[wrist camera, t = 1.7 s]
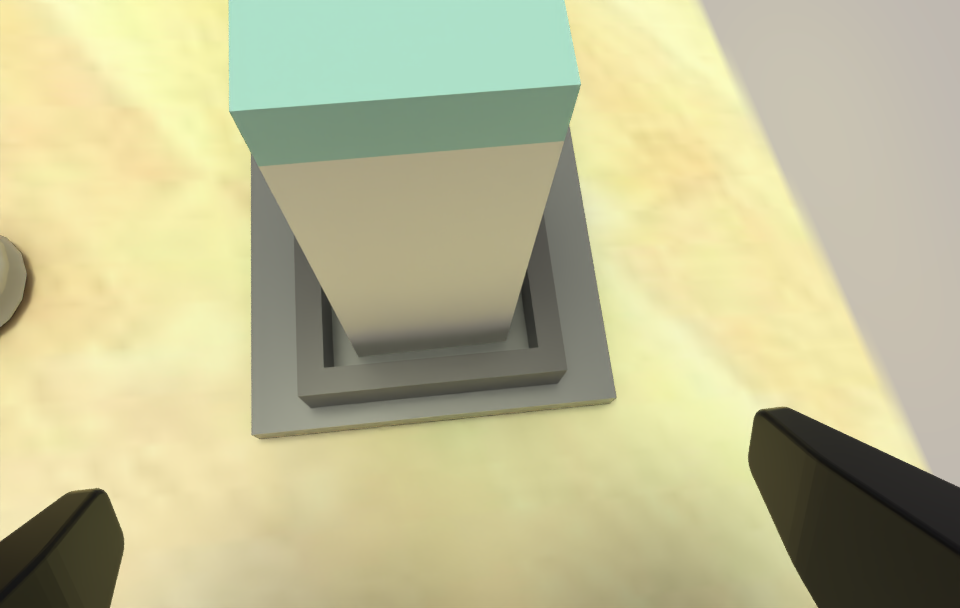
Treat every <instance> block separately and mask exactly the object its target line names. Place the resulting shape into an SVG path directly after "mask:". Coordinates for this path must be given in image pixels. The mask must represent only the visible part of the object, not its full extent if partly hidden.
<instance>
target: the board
mask: <svg viewBox="0 0 960 608" xmlns="http://www.w3.org/2000/svg"><path fill="white" fill-rule="evenodd" d="M251 381H252V435H253V436H255V437H257V438H259V439H264V438H274V437H284V436H294V435H304V434H313V433H323V432H333V431H343V430H353V429H362V428H372V427H382V426H392V425H402V424H411V423H421V422H431V421H441V420H451V419H460V418H470V417H480V416H490V415H499V414H509V413H519V412H529V411H539V410H548V409H558V408H568V407H578V406H588V405H597V404H607V403H611V402H612V401H613V400H614V399H616V392H615V386H614V381H613V375H612V369H611V363H610V358H609V352H608V346H607V340H606V335H605V329H604V323H603V317H602V311H601V306H600V300H599V294H598V288H597V283H596V277H595V271H594V265H593V260H592V254H591V248H590V242H589V237H588V231H587V225H586V219H585V213H584V208H583V202H582V196H581V190H580V185H579V179H578V173H577V167H576V162H575V156H574V150H573V144H572V139H571V133H570V127H568V130H567V134H566V137H565V140H564V144H563V147H562V151H561V154H560V157H559V161H558V164H557V168H556V171H555V174H554V178H553V181H552V185H551V188H550V192H549V195H548V198H547V202H546V205H545V209H544V212H543V215H542V219H541V222H540V226H539V229H538V232H537V236H536V239H535V243H534V246H533V250H532V253H531V256H530V260H529V263H528V267H527V270H526V273H525V277H524V280H523V284H522V287H521V290H520V294H519V297H518V301H517V304H516V308H515V311H514V314H513V318H512V321H511V325H510V328H509V331H508V335H507V338H506V341H503V342H494V343H484V344H475V345H465V346H456V347H447V348H437V349H428V350H418V351H409V352H399V353H390V354H381V355H371V356H362V357H358V355H357V353H356V351H355V349H354V347H353V345H352V344H351V342H350V340H349V338H348V336H347V334H346V332H345V330H344V328H343V326H342V325H341V323H340V321H339V319H338V317H337V315H336V313H335V311H334V309H333V307H332V306H331V304H330V302H329V300H328V298H327V296H326V294H325V292H324V290H323V288H322V287H321V285H320V283H319V281H318V279H317V277H316V275H315V273H314V271H313V269H312V268H311V266H310V264H309V262H308V260H307V258H306V256H305V254H304V252H303V250H302V249H301V247H300V245H299V243H298V241H297V239H296V237H295V235H294V233H293V231H292V230H291V228H290V226H289V224H288V222H287V220H286V218H285V216H284V214H283V212H282V211H281V209H280V207H279V205H278V203H277V201H276V199H275V197H274V195H273V193H272V192H271V190H270V188H269V186H268V184H267V182H266V180H265V178H264V176H263V174H262V173H261V171H260V169H259V167H258V165H257V163H256V161H255V159H254V157H253V155H252V154H251Z"/></svg>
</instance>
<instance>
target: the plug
mask: <svg viewBox="0 0 960 608" xmlns="http://www.w3.org/2000/svg"><path fill="white" fill-rule="evenodd" d="M580 86H581V82H580V77H579V72H578V67H577V62H576V57H575V52H574V47H573V42H572V37H571V32H570V27H569V22H568V17H567V12H566V7H565V2H564V0H229V112H230V114H231V116H232V117H233V119H234V121H235V123H236V125H237V127H238V129H239V131H240V133H241V135H242V136H243V138H244V140H245V142H246V144H247V146H248V148H249V150H250V152H251V154H252V155H253V157H254V159H255V161H256V163H257V165H258V167H259V169H260V171H261V173H262V174H263V176H264V178H265V180H266V182H267V184H268V186H269V188H270V190H271V192H272V193H273V195H274V197H275V199H276V201H277V203H278V205H279V207H280V209H281V211H282V212H283V214H284V216H285V218H286V220H287V222H288V224H289V226H290V228H291V230H292V231H293V233H294V235H295V237H296V239H297V241H298V243H299V245H300V247H301V249H302V250H303V252H304V254H305V256H306V258H307V260H308V262H309V264H310V266H311V268H312V269H313V271H314V273H315V275H316V277H317V279H318V281H319V283H320V285H321V287H322V288H323V290H324V292H325V294H326V296H327V298H328V300H329V302H330V304H331V306H332V307H333V309H334V311H335V313H336V315H337V317H338V319H339V321H340V323H341V325H342V326H343V328H344V330H345V332H346V334H347V336H348V338H349V340H350V342H351V344H352V345H353V347H354V349H355V351H356V353H357V355H358V357H362V356H371V355H381V354H390V353H399V352H409V351H418V350H428V349H437V348H447V347H456V346H465V345H475V344H484V343H494V342H503V341H506V338H507V335H508V331H509V328H510V325H511V321H512V318H513V314H514V311H515V308H516V304H517V301H518V297H519V294H520V290H521V287H522V284H523V280H524V277H525V273H526V270H527V267H528V263H529V260H530V256H531V253H532V250H533V246H534V243H535V239H536V236H537V232H538V229H539V226H540V222H541V219H542V215H543V212H544V209H545V205H546V202H547V198H548V195H549V192H550V188H551V185H552V181H553V178H554V174H555V171H556V168H557V164H558V161H559V157H560V154H561V151H562V147H563V144H564V140H565V137H566V134H567V130H568V127H569V123H570V120H571V116H572V113H573V110H574V106H575V103H576V99H577V96H578V93H579V89H580Z"/></svg>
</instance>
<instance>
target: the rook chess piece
mask: <svg viewBox="0 0 960 608" xmlns="http://www.w3.org/2000/svg"><path fill="white" fill-rule="evenodd" d="M26 277H27V273H26V269H25V265H24V262H23V258H22V254H21V252H20V251H19V250H18V249H17V248H16V247H15V246H14V245H13V244H12V243H11V242H10V241H9V240H8V239H7V238H6V237H4V236H1V235H0V327H1V326H2V325H3V324H5V323H6V322H7V321H8V320H10V318H11V317H12V315H13V314H14V312H15V310H16V309H17V307H18V306H19V304H20V302H21V301H22V298H23V293H24V287H25V282H26Z"/></svg>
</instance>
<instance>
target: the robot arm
mask: <svg viewBox="0 0 960 608" xmlns="http://www.w3.org/2000/svg"><path fill="white" fill-rule="evenodd" d="M748 462H749V467H750V470H751V473H752V475H753V478H754V480H755V482H756V484H757V486H758V489H759V491H760V493H761V495H762V497H763V500H764V502H765V504H766V506H767V508H768V511H769V513H770V515H771V517H772V519H773V522H774V524H775V526H776V528H777V530H778V533H779V535H780V537H781V539H782V541H783V544H784V546H785V548H786V550H787V552H788V554H789V556H790V558H791V561H792V563H793V565H794V567H795V568H796V570H797V572H798V574H799V576H800V577H801V579H802V581H803V583H804V584H805V586H806V588H807V589H808V591H809V593H810V595H811V596H812V598H813V600H814V601H815V603H816V605H817V606H818V608H960V487H957V486H955V485H953V484H951V483H949V482H947V481H945V480H942V479H940V478H938V477H936V476H934V475H932V474H930V473H927V472H925V471H923V470H921V469H919V468H917V467H915V466H913V465H910V464H908V463H906V462H904V461H902V460H900V459H898V458H895V457H893V456H891V455H889V454H887V453H885V452H883V451H880V450H878V449H876V448H874V447H872V446H870V445H868V444H865V443H863V442H861V441H859V440H857V439H855V438H853V437H850V436H848V435H846V434H844V433H842V432H840V431H838V430H835V429H833V428H831V427H829V426H827V425H825V424H823V423H820V422H818V421H816V420H814V419H812V418H810V417H808V416H805V415H803V414H801V413H799V412H797V411H795V410H793V409H790V408H788V407H776V408H768V409H761V410H759V411H758V412H757V413H756V414H755V417H754V420H753V427H752V433H751V440H750V446H749V453H748ZM123 551H124V536H123V532H122V529H121V527H120V524H119V522H118V519H117V517H116V514H115V511H114V509H113V506H112V504H111V501H110V499H109V497H108V495H107V493H106V492H105V491H104V490H102V489H99V488H94V489H86V490H77V491H71V492H69V493H66V494H65V495H63V496H62V497H61V498H59V499H58V500H57V501H55V502H54V503H52V504H51V505H50V506H48V507H47V508H46V509H44V510H43V511H42V512H40V513H39V514H37V515H36V516H35V517H33V518H32V519H31V520H29V521H28V522H26V523H25V524H24V525H22V526H21V527H20V528H18V529H17V530H15V531H14V532H13V533H11V534H10V535H9V536H7V537H6V538H4V539H3V540H2V541H0V608H110V605H111V601H112V597H113V593H114V589H115V585H116V580H117V576H118V572H119V568H120V564H121V560H122V556H123Z"/></svg>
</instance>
